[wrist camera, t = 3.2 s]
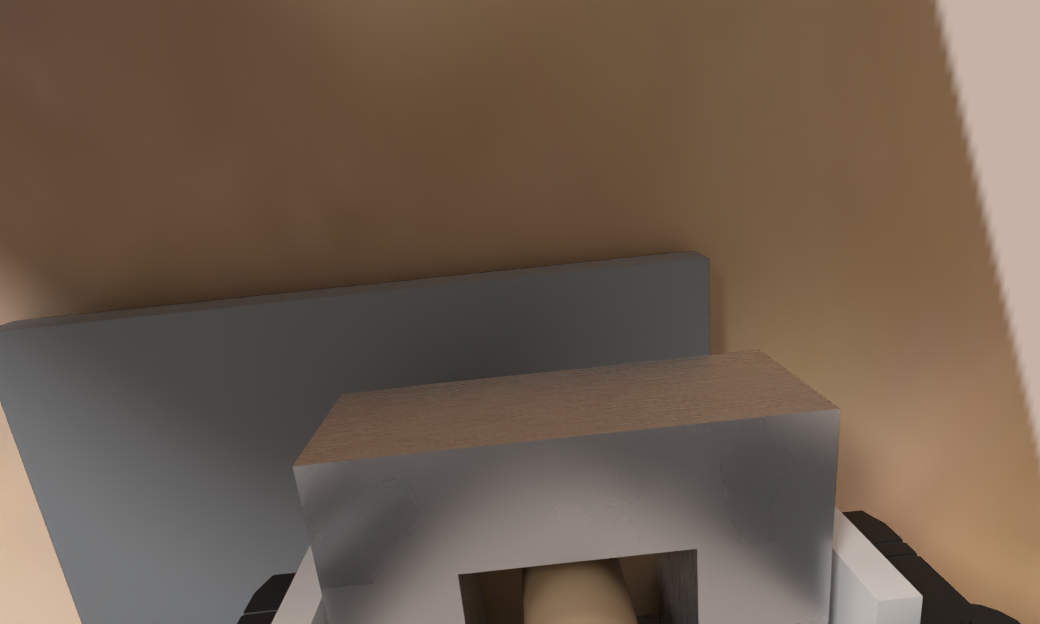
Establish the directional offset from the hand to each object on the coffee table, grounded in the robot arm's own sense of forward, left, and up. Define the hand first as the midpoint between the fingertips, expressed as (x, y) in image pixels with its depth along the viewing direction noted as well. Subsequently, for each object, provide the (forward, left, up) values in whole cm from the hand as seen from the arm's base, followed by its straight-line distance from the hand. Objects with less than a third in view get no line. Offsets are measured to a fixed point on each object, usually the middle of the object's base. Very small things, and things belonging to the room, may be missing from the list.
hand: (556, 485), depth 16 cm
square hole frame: (0, 0, +3) cm, 3 cm away
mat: (+4, -5, -1) cm, 7 cm away
